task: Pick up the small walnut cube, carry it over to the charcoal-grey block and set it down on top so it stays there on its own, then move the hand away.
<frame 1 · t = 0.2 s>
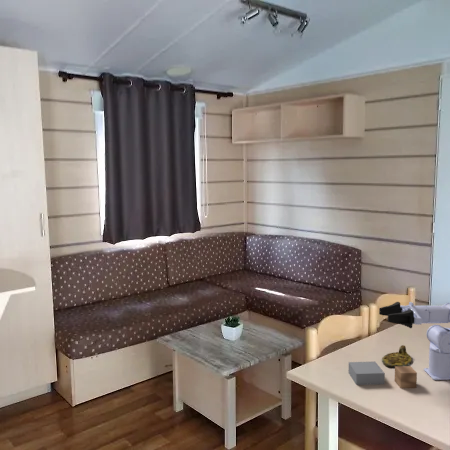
hand: (383, 314, 153), 21 cm above the table, tool horizontal, fingers open, 7 cm apart
grey block: (365, 379, 155), on the table
walnut cube: (405, 384, 150), on the table
seal: (396, 362, 168), on the table
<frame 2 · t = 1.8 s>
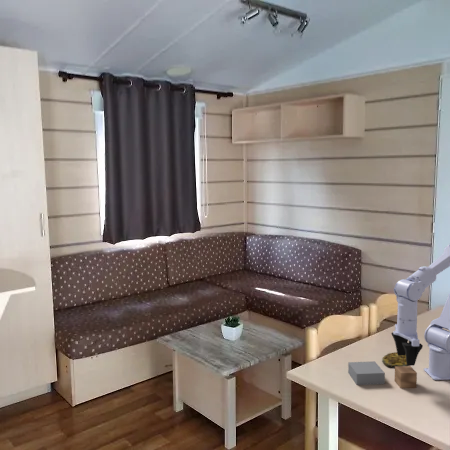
hand: (405, 359, 149), 8 cm above the table, tool pointing down, fingers open, 7 cm apart
nothing on the table moved.
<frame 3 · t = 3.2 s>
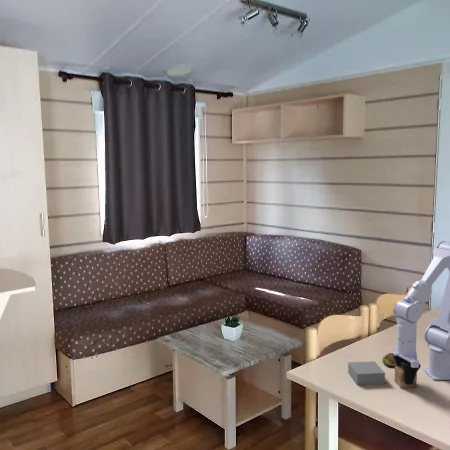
hand: (405, 380, 150), 1 cm above the table, tool pointing down, fingers closed on walnut cube, 5 cm apart
walnut cube: (405, 384, 150), on the table, touching gripper
everything else where it was.
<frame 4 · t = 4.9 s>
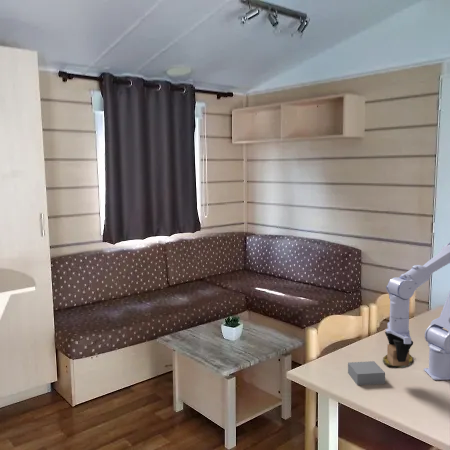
hand: (398, 357, 150), 8 cm above the table, tool pointing down, fingers closed on walnut cube, 5 cm apart
walnut cube: (397, 362, 150), point 7 cm above the table, touching gripper
everything else where it was.
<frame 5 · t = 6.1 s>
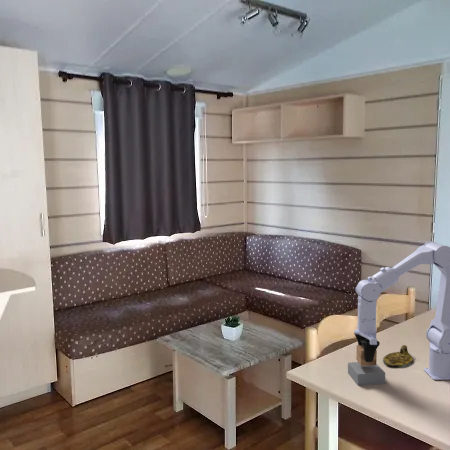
hand: (366, 357, 154), 7 cm above the table, tool pointing down, fingers closed on walnut cube, 5 cm apart
walnut cube: (366, 362, 154), point 5 cm above the table, touching gripper
everything else where it was.
when the fingers open (7 cm above the table, at t = 6.7 s): walnut cube drops 2 cm, resting on grey block.
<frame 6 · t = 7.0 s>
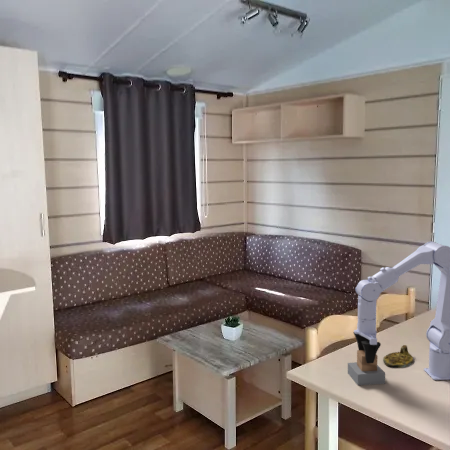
hand: (366, 357, 154), 7 cm above the table, tool pointing down, fingers open, 7 cm apart
grey block: (365, 379, 155), on the table, touching walnut cube
walnut cube: (366, 367, 155), point 4 cm above the table, touching grey block
everything else where it was.
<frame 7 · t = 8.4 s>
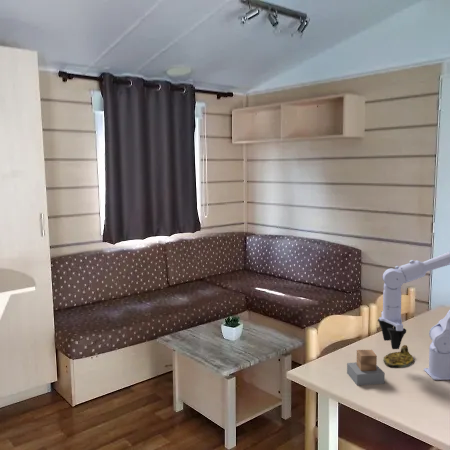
hand: (391, 344, 159), 9 cm above the table, tool pointing down, fingers open, 7 cm apart
grey block: (365, 379, 155), on the table
walnut cube: (366, 367, 155), point 4 cm above the table
everything else where it was.
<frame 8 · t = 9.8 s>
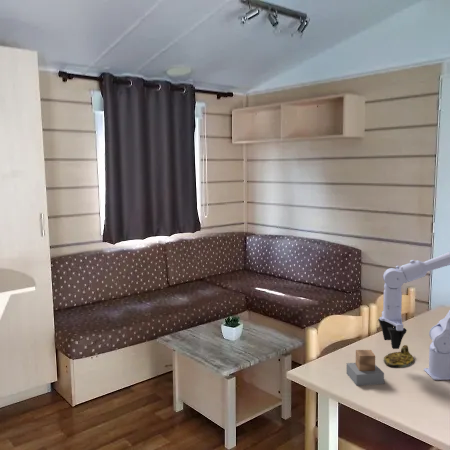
hand: (391, 344, 159), 9 cm above the table, tool pointing down, fingers open, 7 cm apart
grey block: (364, 379, 155), on the table, touching walnut cube
walnut cube: (365, 367, 155), point 4 cm above the table, touching grey block
everything else where it was.
at the end: walnut cube 0.4 cm off-centre on the grey block, point 4.0 cm above the grey block's base; walnut cube touching grey block; the gripper is holding nothing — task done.
